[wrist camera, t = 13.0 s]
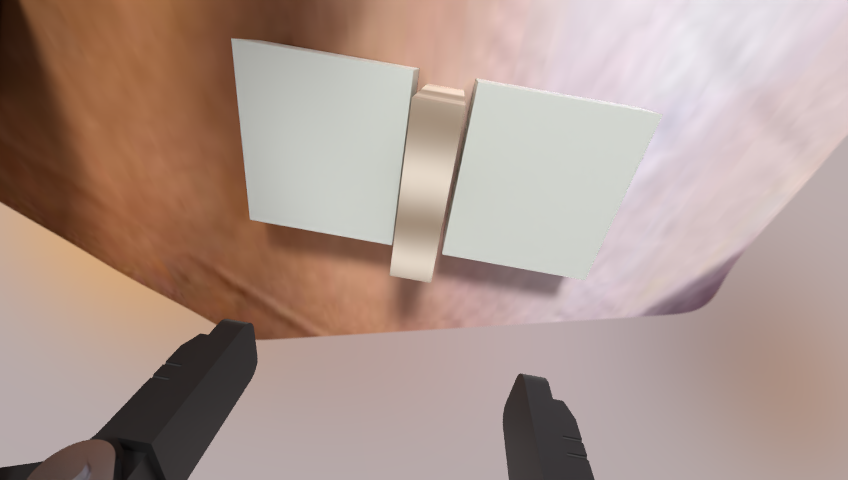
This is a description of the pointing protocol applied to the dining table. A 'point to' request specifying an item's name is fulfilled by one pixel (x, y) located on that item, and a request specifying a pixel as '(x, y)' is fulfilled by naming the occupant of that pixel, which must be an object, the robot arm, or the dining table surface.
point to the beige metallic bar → (426, 179)
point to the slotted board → (477, 169)
